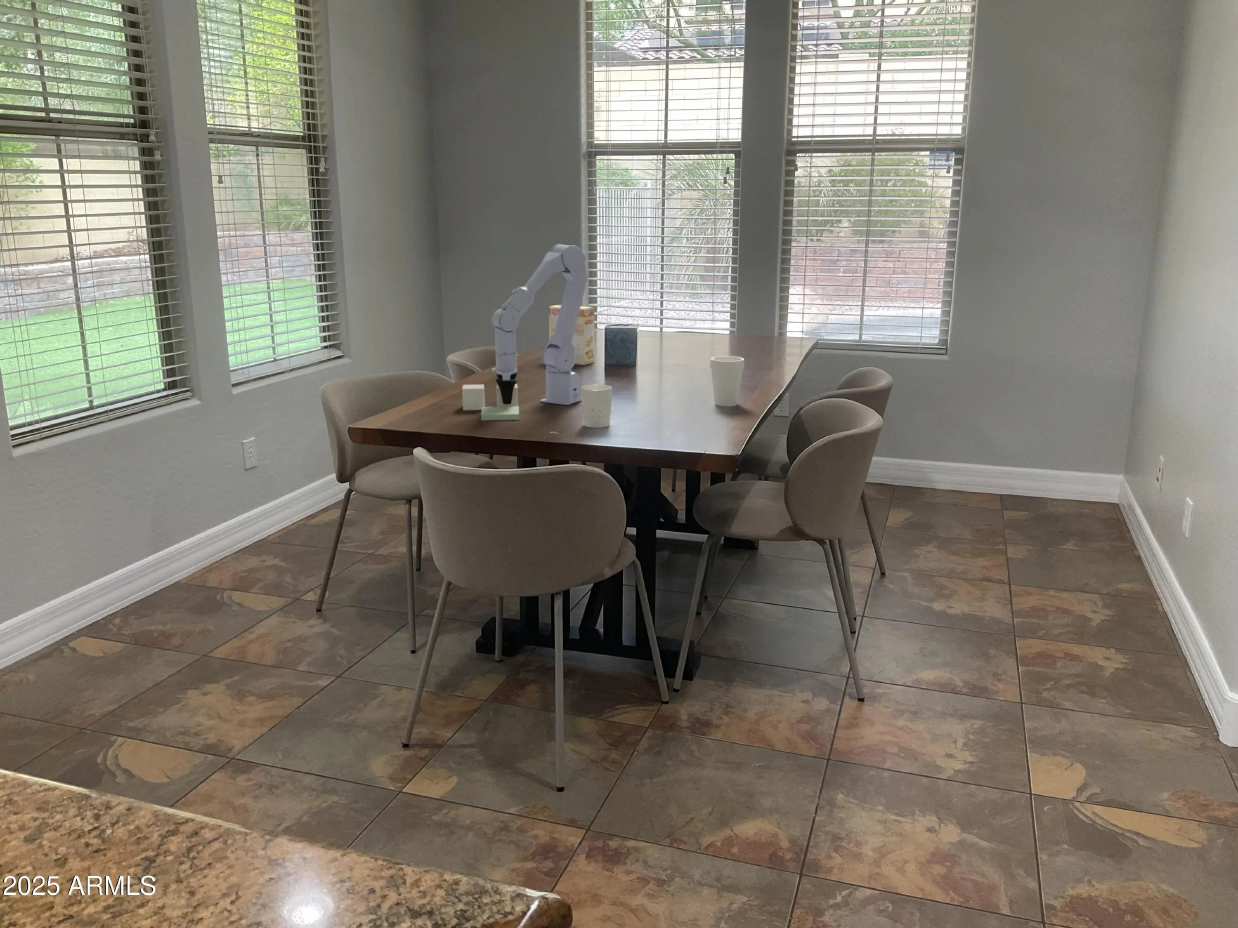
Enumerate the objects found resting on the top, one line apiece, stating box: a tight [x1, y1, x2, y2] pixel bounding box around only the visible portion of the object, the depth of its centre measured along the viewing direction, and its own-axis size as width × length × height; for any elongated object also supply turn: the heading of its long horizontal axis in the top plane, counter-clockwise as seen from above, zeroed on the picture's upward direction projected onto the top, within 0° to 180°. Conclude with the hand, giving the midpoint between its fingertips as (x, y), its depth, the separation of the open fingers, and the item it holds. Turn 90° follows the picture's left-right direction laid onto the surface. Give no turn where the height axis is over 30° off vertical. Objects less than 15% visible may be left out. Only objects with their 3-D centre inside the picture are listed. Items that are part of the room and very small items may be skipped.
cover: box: [461, 384, 486, 411], centre depth 279 cm, size 6×6×6 cm
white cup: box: [580, 383, 613, 429], centre depth 258 cm, size 8×8×10 cm
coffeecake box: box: [548, 304, 596, 366], centre depth 350 cm, size 15×7×20 cm, turn 58°
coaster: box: [480, 405, 520, 421], centre depth 269 cm, size 10×10×2 cm
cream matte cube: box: [495, 383, 519, 407], centre depth 279 cm, size 6×6×6 cm
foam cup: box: [709, 355, 745, 407], centre depth 283 cm, size 10×9×13 cm
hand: (507, 401), depth 280 cm, fingers open, 7 cm apart
